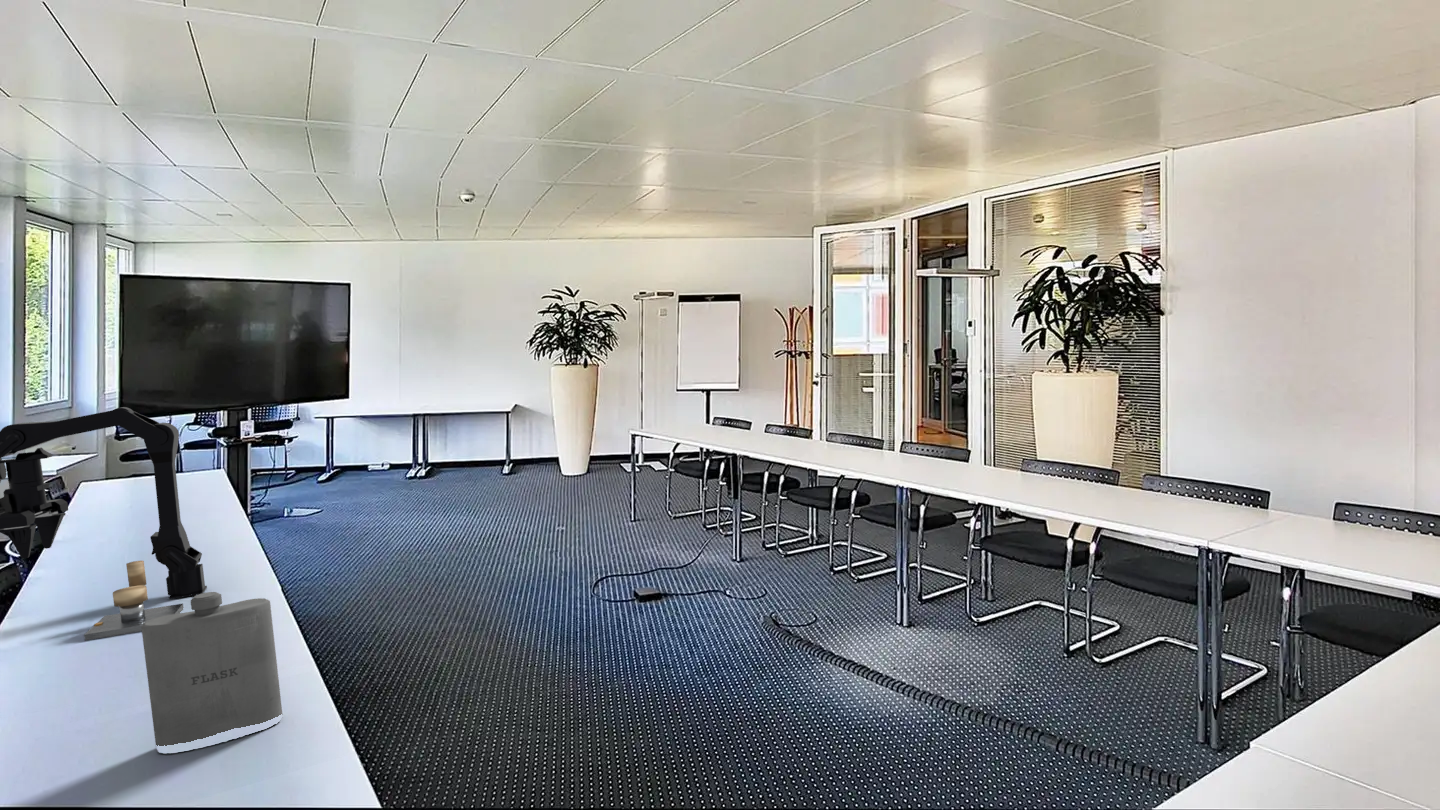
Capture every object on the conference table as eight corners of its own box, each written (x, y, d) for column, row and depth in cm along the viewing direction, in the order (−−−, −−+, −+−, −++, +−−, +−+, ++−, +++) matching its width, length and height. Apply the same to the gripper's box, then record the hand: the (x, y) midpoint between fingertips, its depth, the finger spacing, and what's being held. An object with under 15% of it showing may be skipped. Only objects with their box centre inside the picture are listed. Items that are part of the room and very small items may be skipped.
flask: (155, 762, 105) (136, 612, 104) (157, 745, 110) (140, 601, 109) (284, 727, 113) (269, 587, 112) (281, 712, 118) (266, 578, 117)
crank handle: (143, 603, 164) (139, 569, 164) (110, 608, 162) (106, 574, 161) (156, 590, 174) (152, 558, 173) (125, 595, 171) (121, 563, 171)
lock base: (183, 608, 175) (181, 588, 175) (169, 626, 163) (167, 605, 163) (105, 621, 169) (102, 600, 169) (84, 640, 158) (82, 618, 157)
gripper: (5, 480, 180) (15, 548, 181) (-47, 493, 162) (-35, 569, 163) (64, 473, 183) (74, 541, 184) (20, 486, 165) (31, 561, 166)
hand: (36, 553), depth 174 cm, fingers open, 9 cm apart
